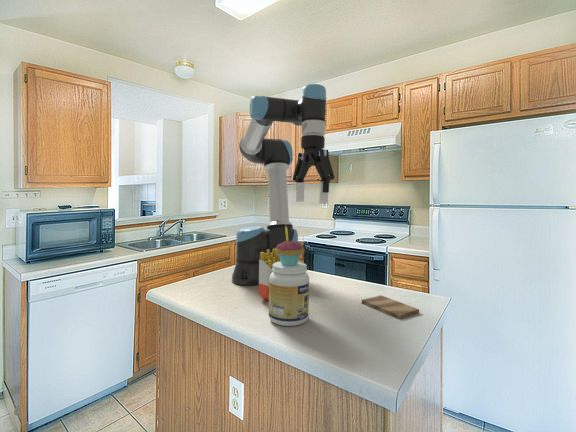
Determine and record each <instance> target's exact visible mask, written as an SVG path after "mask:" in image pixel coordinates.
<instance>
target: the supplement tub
mask: <svg viewBox="0 0 576 432" xmlns="http://www.w3.org/2000/svg"><path fill="white" fill-rule="evenodd" d="M307 268H308V266H307V264H306V263H304V262H301V261H300V262H299V261H298V263H297V265H296V266H284V265H282V264H281V262H276V263H274V264H273V268H272V271H273V272H272V273H271V275H270V277H269V301H268V318H269V321H271V322H272V323H273V324H276V325H279V326H283V327H295V326H296V327H297V326H299V325H302V324H304V323H306V322H307V321H308V319H309V306H310V305H309V304H310V303H309V301H310V299H309V298H310V296H309V295H310V275H309V274H308V273H307V271H308V269H307Z"/></svg>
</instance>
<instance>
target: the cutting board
mask: <svg viewBox="0 0 576 432" xmlns="http://www.w3.org/2000/svg"><path fill="white" fill-rule="evenodd" d="M361 304H363V305H365V306H367V307H370V308H372V309H374V310H377V311H380V312H381V313H384V314H387V315H388V316H391V317H392V318H393V317H394V318H395V319H398V320H401V319H404V318H408V317H410V316H414V315H417V314H419V313H420V309H419V308H417V307H413V306H412V305H409V304H406V303H403V302H401V301H398V300H395V299H392V298H390V297H387V296H384V295H381V294H380V295H375V296H373V297H372V296H371V297H367V298H364V299H361Z"/></svg>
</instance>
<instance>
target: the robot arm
mask: <svg viewBox="0 0 576 432" xmlns="http://www.w3.org/2000/svg"><path fill="white" fill-rule="evenodd" d="M301 92H302V93H301V97H302V98H301V99H299V100H298V99H288V98H281V97H279V98H278V97H271V96H265V95H253V96H251V99H250V102H249V117H250V118H251V119H250V122H249V124H248V126H247V129H246V132H245V134H244V135H242V136H241V138H240V141H239V143H238V144H239V145H238V146H239V147H238V149H239V151H240V153H241V155H242V156H243V158H245V159H246V160H247V161H249V162H251V163H253V164H260V165H263V168H264V170H265V171H266V172H267V180H268V181H267V182H268V184H267V187H268V203H269V204H268V207H269V223H268V224H267V225H266V229H265V228H264V226H261V225H258V226H255V225H253V226H248V227H243V228H241V229H238V230H237V232H236V235H235V236H236V237H235V238H236V239H235V242H236V243H235V245H236V247H235V248H236V249H235V251H236V252H235V255H236V257H235V261H236V262H235V266H234V268H233V272H232V273H231V274H232V275H231V282H232V283H233V284H235V285H238V286H259V260H260V252H264V253H267V250H268V249H269V250H270V253H272V249H274V248H276V247H277V245H278V244H280V243H282V242H284V241H286V232H285V227H287V230H288V240H289V241H295V242H298V241H299V235H298V230H297V229H296V228H294V227H293V225H294V224H292V222H290V217H289V216H290V215H289V214H290V213H289V200H288V197H289V196H288V184H287V183H288V181H287V170H289V168H290V166H291V165H292V164H293V159H294V158H293V157H294V151H293V146H292V144H291V143H290V142H289V141H288V140H286V139H281V138H278V139H277V138H265V137H266V136H267V134H268V133H269V130H270V129H271V127H272V125H273V123H274V122H279V123H289V124H290V123H291V124H293V125H295V126H301V135H302V136H301V137H300V139H301V141H300V148H301V149H303V152H298V153H297V160H296V161H297V162H296V164H295V169H294V172H293V175H292V181H294V182H295V183H296V184H295V190H296V192H295V193H296V194H295V195H296V196H295V202H296V203H297V202H299V203H300V202H301V203H302V202H305V181H304V180H305V178H306V176H307V174H308V172H309V170H310V168H312V167H314V168H315V169H316V171H317V173H318V176H319V178H320V180H319V199H318V201H319V204H326V205H327V204H329V192H330V182H331V181H333V180H335V174H334V171H333V167H332V164H331V160H330V156H329V155H330V154H329V149H325V140H326V139H325V135H326V112H327V111H326V109H327V107H326V106H327V89H326V87H325V86H324V85H322V84H317V83H309V84H307V85H305V86H303V88H302V91H301ZM285 224H286V226H285ZM298 243H299V242H298Z"/></svg>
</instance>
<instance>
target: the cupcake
mask: <svg viewBox="0 0 576 432" xmlns="http://www.w3.org/2000/svg"><path fill="white" fill-rule="evenodd" d="M285 226H286V224H285ZM285 232H286V241H284V242H282V243H280V244H278V245H277V247H276V253H278V255H279V258H280V261H281V264H282V265H284V266H296V265H297V263H298V262H299V260H300V257H301V255H302V254H304V253H305V247H304V246H303V245H302V244H301V243H300V242H295V241H289V240H288V230H287V227H285Z"/></svg>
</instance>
